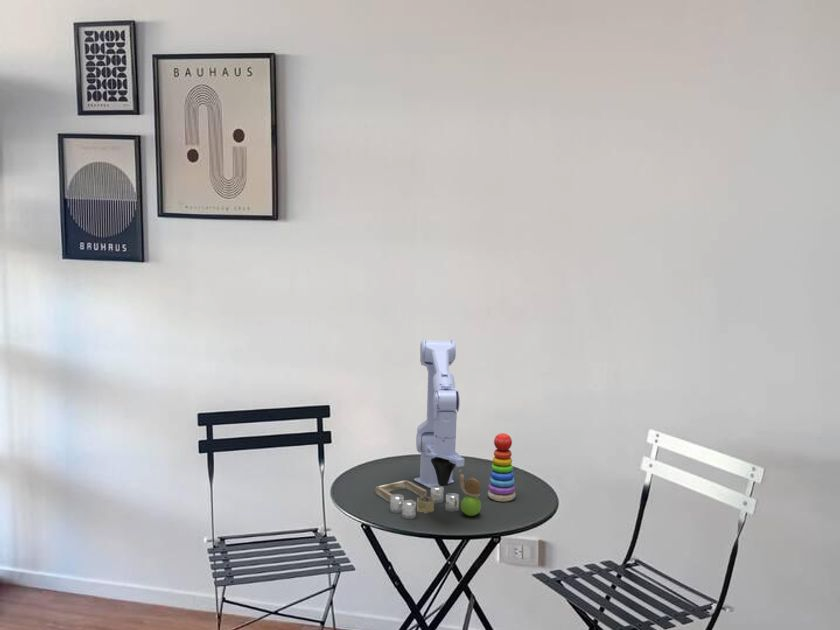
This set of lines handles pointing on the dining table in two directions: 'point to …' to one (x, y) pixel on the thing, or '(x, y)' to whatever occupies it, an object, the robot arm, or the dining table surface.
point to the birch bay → (385, 489)
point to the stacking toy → (502, 470)
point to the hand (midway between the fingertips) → (443, 485)
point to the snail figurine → (470, 495)
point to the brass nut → (425, 504)
